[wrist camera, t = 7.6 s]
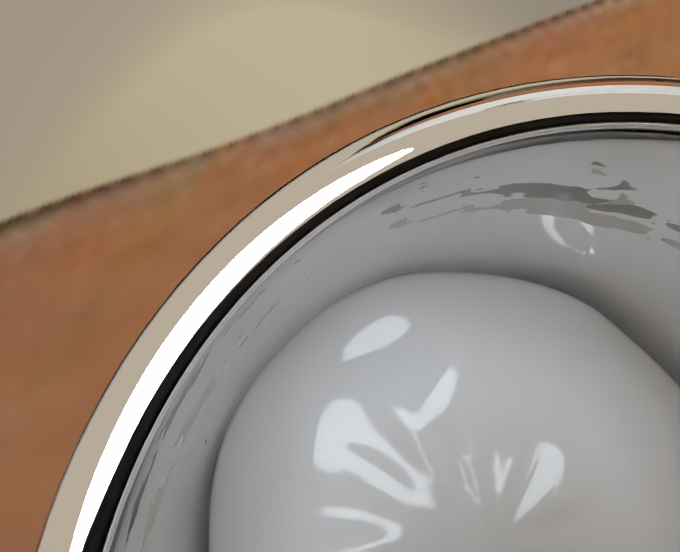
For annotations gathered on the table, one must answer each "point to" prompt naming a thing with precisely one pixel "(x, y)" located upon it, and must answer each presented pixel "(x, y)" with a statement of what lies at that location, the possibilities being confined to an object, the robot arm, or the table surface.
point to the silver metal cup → (417, 348)
